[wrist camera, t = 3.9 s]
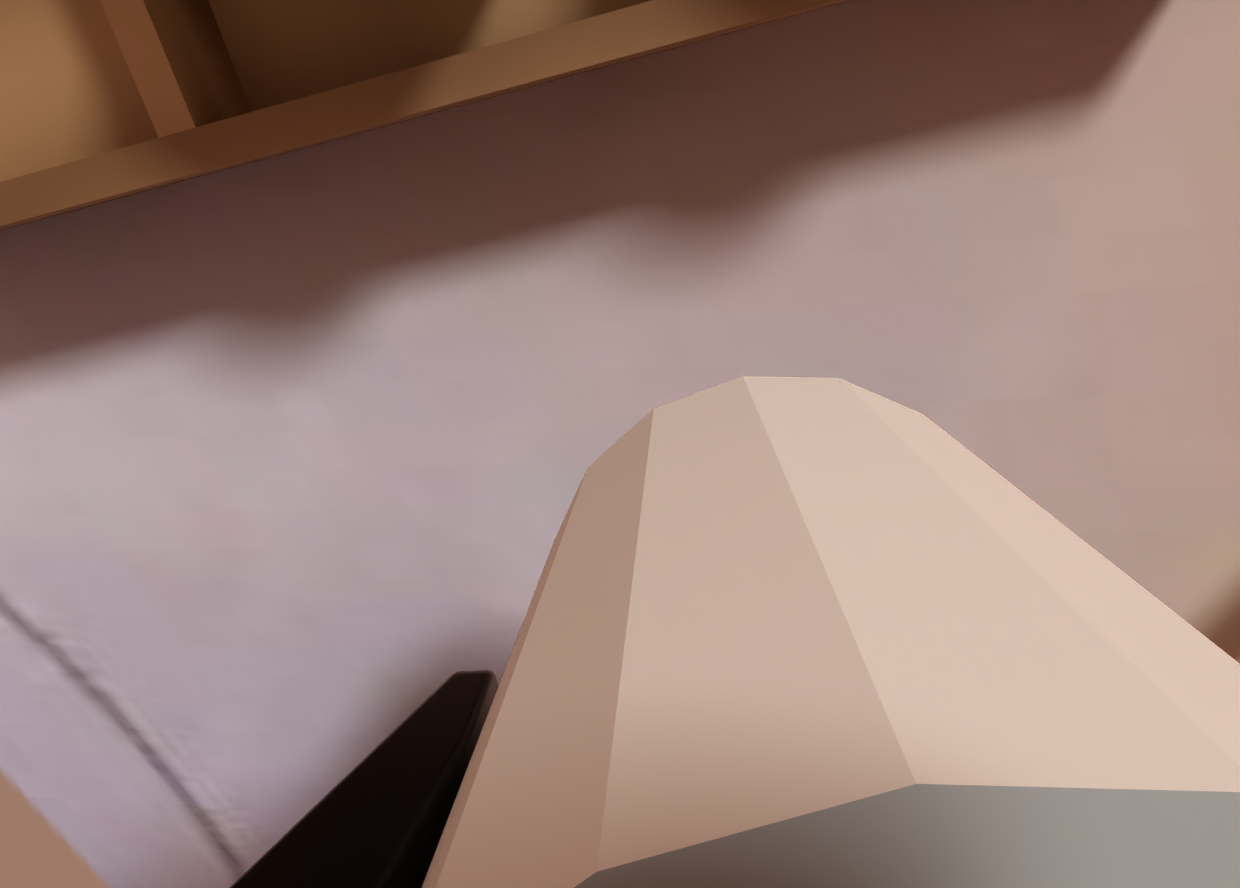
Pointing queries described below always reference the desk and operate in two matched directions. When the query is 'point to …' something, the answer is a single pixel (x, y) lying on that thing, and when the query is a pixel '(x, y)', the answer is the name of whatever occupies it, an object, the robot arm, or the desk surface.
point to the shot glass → (840, 676)
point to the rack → (282, 76)
